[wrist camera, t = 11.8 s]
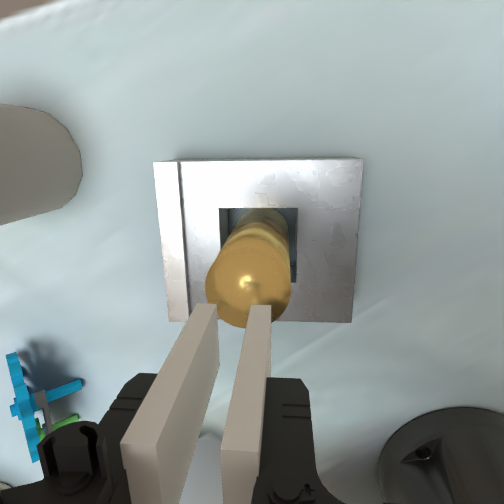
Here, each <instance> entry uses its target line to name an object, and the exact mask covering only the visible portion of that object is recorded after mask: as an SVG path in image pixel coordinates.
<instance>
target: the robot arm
mask: <svg viewBox="0 0 504 504" xmlns="http://www.w3.org/2000/svg"><path fill="white" fill-rule="evenodd" d="M219 366H220V362H219V343H218V324H217V305H216V304H205V303H197V304H196V306H195V308H194V310H193V311H192V313H191V315H190V317H189V319H188V320H187V322H186V324H185V326H184V328H183V330H182V331H181V333H180V335H179V337H178V339H177V340H176V342H175V344H174V346H173V348H172V349H171V351H170V353H169V355H168V357H167V359H166V360H165V362H164V364H163V366H162V368H161V369H160V371H159V373H158V374H153V373H139V374H137V375H136V376H135V377H133V378H132V379H131V380H130V381H128V382H127V383H126V384H125V385H124V387H123V388H122V390H121V391H120V393H119V394H118V396H117V399H115V400H114V402H113V403H112V405H111V406H110V409H109V410H108V411H107V412H106V414H105V415H104V417H103V418H102V420H101V421H100V423H99V424H97V423H95V422H90V421H79V422H72V423H69V424H67V425H64V426H61V427H59V428H57V429H56V430H54V431H53V432H51V433H49V434H48V435H46V436H45V437H44V438H43V439H42V440H41V441H40V442H39V443H38V444H37V445H36V447H37V451H38V455H39V459H40V463H41V466H42V470H43V474H44V479H43V480H41V481H38V482H35V483H31V484H26V485H22V486H17V487H13V488H9V489H4V490H0V504H179V501H180V498H181V494H182V491H183V487H184V484H185V481H186V477H187V474H188V470H189V467H190V464H191V461H192V457H193V454H194V450H195V447H196V443H197V440H198V437H199V434H200V430H201V427H202V423H203V420H204V417H205V413H206V410H207V406H208V403H209V400H210V396H211V393H212V390H213V386H214V383H215V379H216V376H217V373H218V369H219ZM220 451H221V469H222V488H223V504H345V503H343V502H342V501H340V500H338V499H337V498H335V497H334V496H333V495H332V494H330V493H329V492H328V491H327V489H326V488H325V487H324V486H323V485H322V483H321V481H320V479H319V477H318V474H317V470H316V463H315V453H314V442H313V432H312V421H311V410H310V400H309V391H308V389H307V388H306V386H305V385H304V383H303V382H302V380H301V379H296V378H273V377H271V305H251V307H250V312H249V317H248V321H247V326H246V331H245V336H244V340H243V345H242V350H241V354H240V359H239V364H238V369H237V373H236V378H235V383H234V387H233V392H232V397H231V402H230V406H229V411H228V416H227V421H226V425H225V430H224V435H223V439H222V444H221V449H220ZM378 480H379V484H380V487H381V491H382V494H383V498H384V501H385V503H384V504H504V416H503V415H501V414H498V413H495V412H491V411H487V410H482V409H475V408H454V409H446V410H441V411H437V412H433V413H430V414H427V415H424V416H422V417H419V418H417V419H415V420H413V421H412V422H410V423H408V424H407V425H405V426H404V427H402V428H401V429H400V430H399V431H398V432H396V433H395V434H394V435H393V436H392V438H391V439H390V440H389V441H388V443H387V444H386V446H385V447H384V449H383V451H382V453H381V456H380V459H379V463H378Z"/></svg>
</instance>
